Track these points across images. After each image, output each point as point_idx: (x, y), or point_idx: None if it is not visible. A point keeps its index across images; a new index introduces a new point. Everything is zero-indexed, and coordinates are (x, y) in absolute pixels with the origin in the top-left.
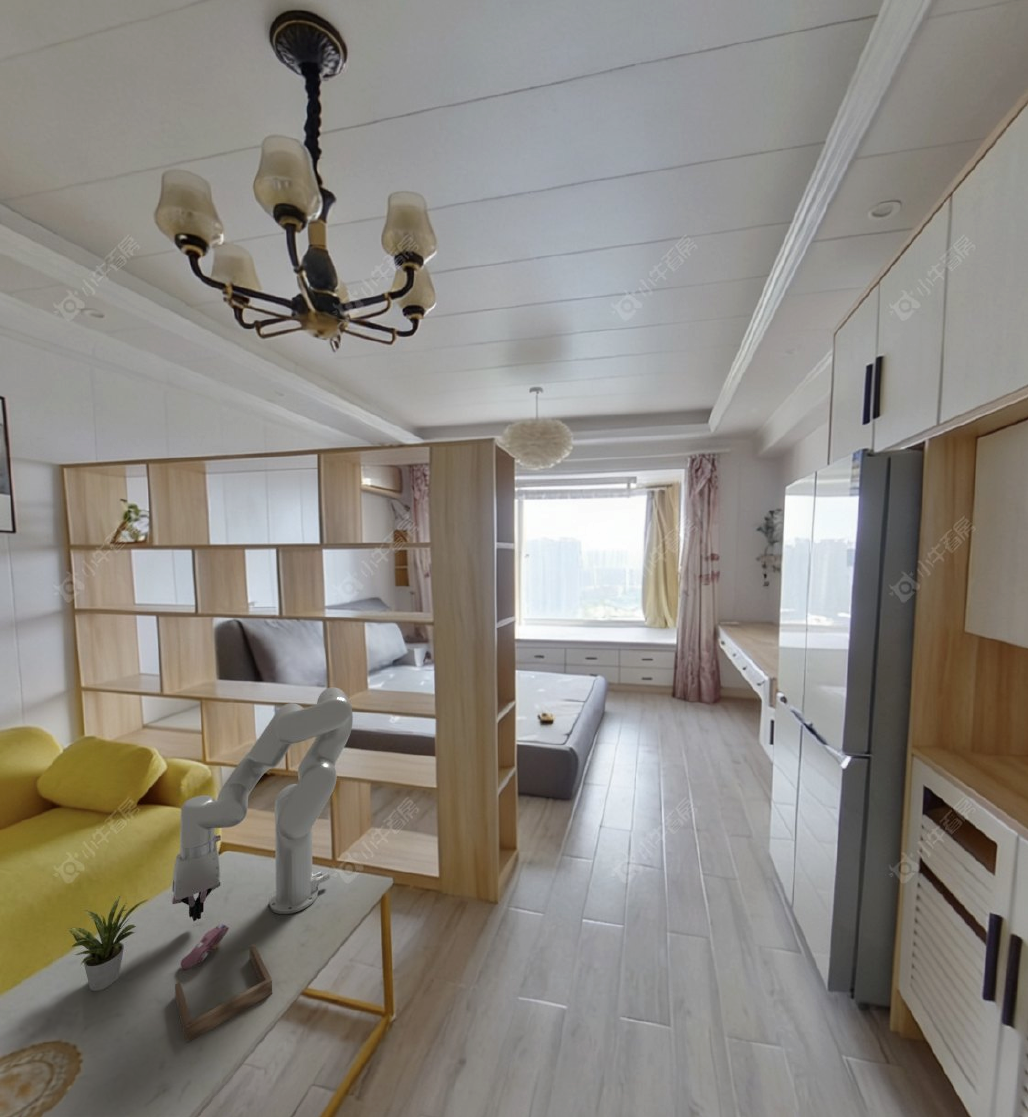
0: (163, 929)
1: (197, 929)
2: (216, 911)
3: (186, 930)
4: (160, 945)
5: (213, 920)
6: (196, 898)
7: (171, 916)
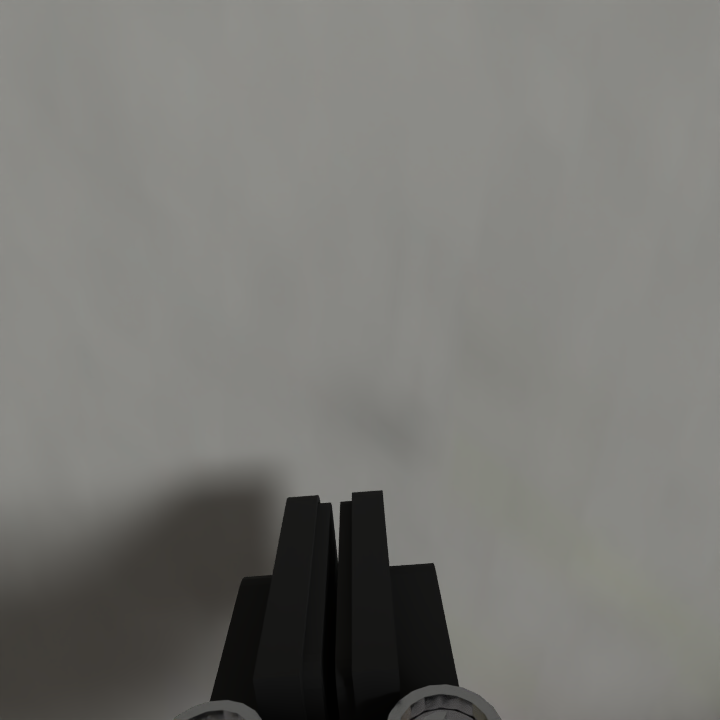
0: (8, 252)
1: None
2: (594, 313)
3: (254, 443)
4: (16, 512)
5: (527, 460)
6: (352, 671)
7: (75, 11)
